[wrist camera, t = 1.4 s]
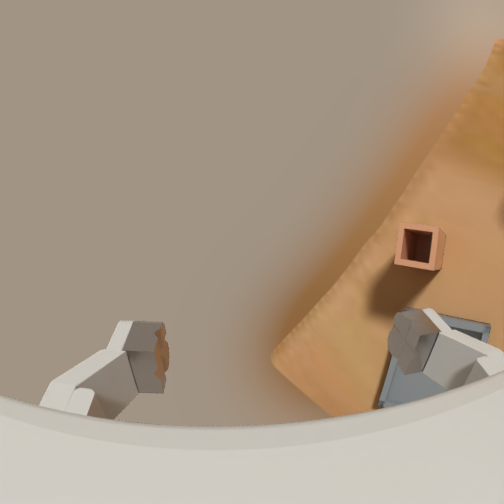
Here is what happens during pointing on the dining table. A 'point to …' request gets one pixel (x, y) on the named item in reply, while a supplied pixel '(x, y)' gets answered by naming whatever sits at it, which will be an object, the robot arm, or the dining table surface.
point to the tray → (419, 384)
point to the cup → (420, 246)
